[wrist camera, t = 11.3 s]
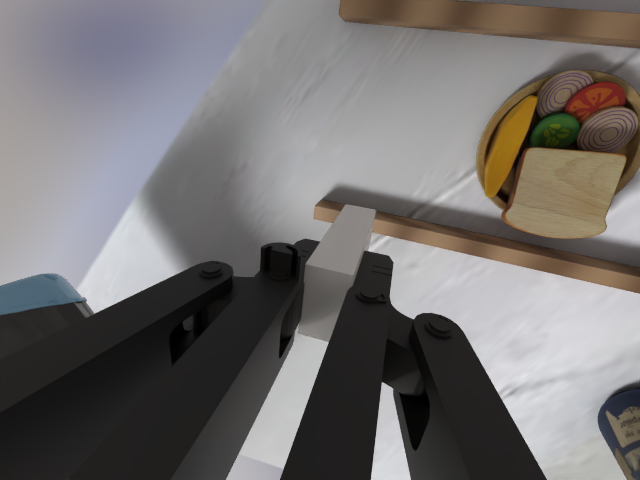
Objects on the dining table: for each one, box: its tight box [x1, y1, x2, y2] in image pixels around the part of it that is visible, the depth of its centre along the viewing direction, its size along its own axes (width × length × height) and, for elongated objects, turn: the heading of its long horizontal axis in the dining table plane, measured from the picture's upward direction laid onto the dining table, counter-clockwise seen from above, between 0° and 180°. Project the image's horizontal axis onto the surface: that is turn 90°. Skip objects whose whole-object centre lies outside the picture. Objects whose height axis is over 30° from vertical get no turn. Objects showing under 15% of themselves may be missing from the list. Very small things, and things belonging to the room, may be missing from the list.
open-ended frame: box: [313, 0, 640, 293], centre depth 26 cm, size 34×20×5 cm, turn 83°
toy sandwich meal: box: [476, 70, 640, 239], centre depth 26 cm, size 12×14×5 cm
